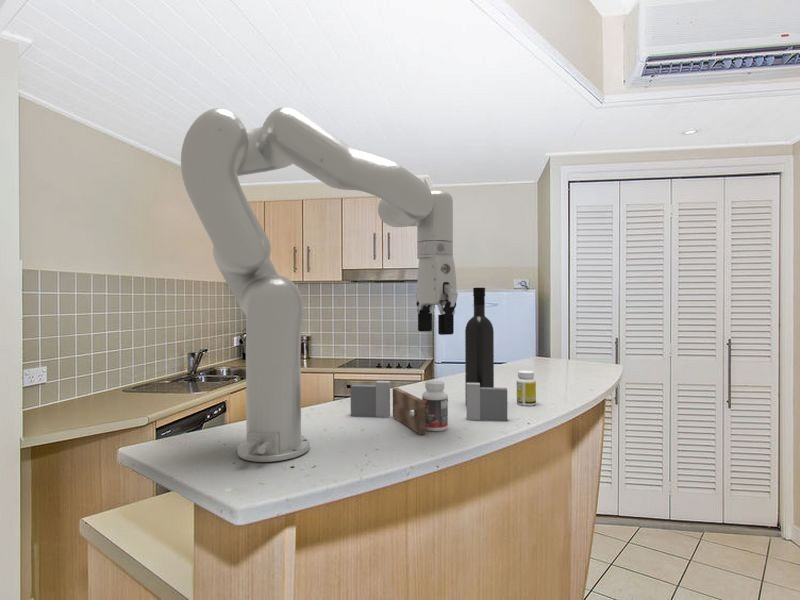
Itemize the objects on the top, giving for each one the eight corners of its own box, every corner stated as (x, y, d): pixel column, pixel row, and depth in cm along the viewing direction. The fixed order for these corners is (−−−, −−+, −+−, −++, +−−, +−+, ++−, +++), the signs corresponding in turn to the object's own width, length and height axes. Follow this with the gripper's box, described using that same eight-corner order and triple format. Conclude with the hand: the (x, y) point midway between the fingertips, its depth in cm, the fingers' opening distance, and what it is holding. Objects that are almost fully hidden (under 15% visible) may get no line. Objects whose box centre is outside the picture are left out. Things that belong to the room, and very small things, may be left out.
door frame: (507, 421, 101) (507, 385, 101) (350, 416, 105) (350, 381, 105) (506, 418, 103) (506, 383, 103) (352, 413, 107) (352, 380, 107)
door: (387, 416, 104) (387, 388, 104) (397, 415, 105) (397, 387, 105) (414, 435, 90) (414, 402, 90) (425, 433, 91) (425, 401, 91)
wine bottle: (478, 402, 118) (478, 288, 118) (495, 406, 114) (495, 287, 114) (463, 406, 115) (463, 287, 115) (480, 410, 110) (480, 287, 110)
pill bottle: (417, 429, 95) (417, 382, 95) (429, 423, 99) (429, 378, 99) (440, 433, 92) (440, 385, 92) (452, 427, 96) (452, 381, 96)
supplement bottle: (538, 403, 117) (538, 371, 117) (533, 407, 113) (532, 373, 113) (519, 401, 120) (519, 369, 120) (514, 404, 116) (514, 372, 116)
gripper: (471, 248, 89) (471, 335, 89) (432, 255, 105) (432, 329, 105) (437, 246, 86) (437, 336, 86) (402, 254, 102) (402, 330, 102)
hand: (435, 332), depth 95 cm, fingers open, 9 cm apart
